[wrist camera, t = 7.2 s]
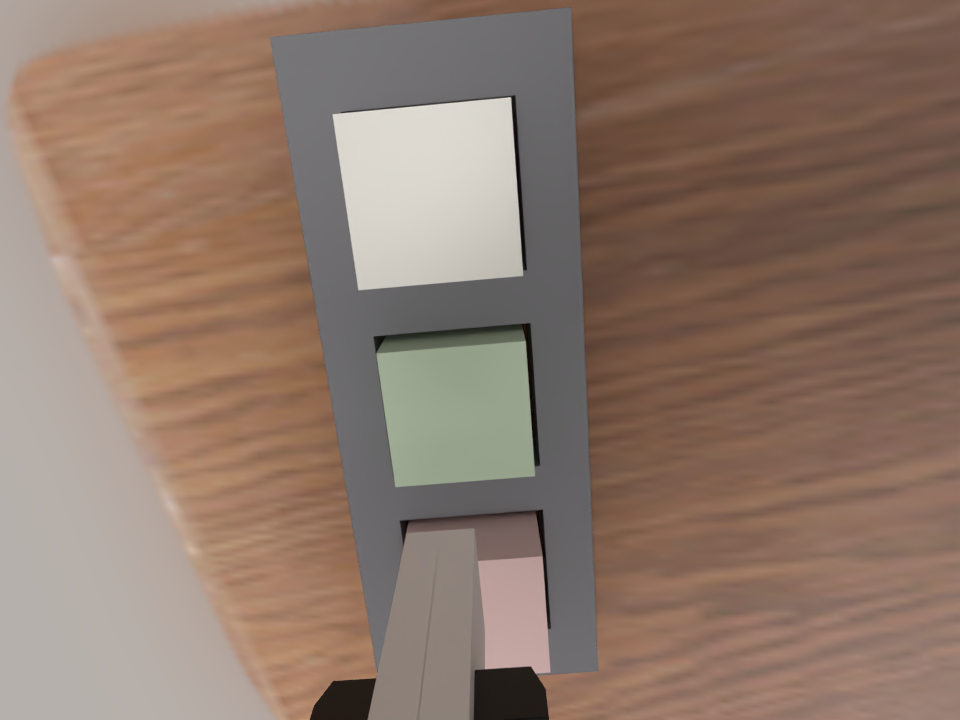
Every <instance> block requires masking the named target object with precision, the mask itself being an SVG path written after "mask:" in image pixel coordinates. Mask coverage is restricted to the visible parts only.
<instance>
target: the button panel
mask: <svg viewBox="0 0 960 720" xmlns="http://www.w3.org/2000/svg"><path fill="white" fill-rule="evenodd" d="M270 41H271V47H272V53H273V59H274V65H275V71H276V77H277V83H278V89H279V94H280V100H281V106H282V112H283V118H284V124H285V130H286V136H287V142H288V148H289V154H290V159H291V165H292V171H293V177H294V183H295V189H296V195H297V201H298V207H299V213H300V219H301V225H302V230H303V236H304V242H305V248H306V254H307V260H308V266H309V272H310V278H311V284H312V290H313V295H314V301H315V307H316V313H317V319H318V325H319V331H320V337H321V343H322V349H323V355H324V360H325V366H326V372H327V378H328V384H329V390H330V396H331V402H332V408H333V414H334V420H335V426H336V431H337V437H338V443H339V449H340V455H341V461H342V467H343V473H344V479H345V485H346V491H347V496H348V502H349V508H350V514H351V520H352V526H353V532H354V538H355V544H356V550H357V556H358V561H359V567H360V573H361V579H362V585H363V591H364V597H365V603H366V609H367V615H368V621H369V627H370V632H371V638H372V644H373V650H374V656H375V662H376V668H377V673H378V668H379V663H380V659H381V654H382V649H383V645H384V640H385V635H386V630H387V626H388V621H389V616H390V611H391V607H392V602H393V597H394V592H395V588H396V583H397V578H398V573H399V569H400V568H399V566H400V562H401V557H402V552H403V547H404V542H405V537H406V532H407V527H408V522H409V520H414V519H427V518H440V517H453V516H466V515H479V514H492V513H505V512H518V511H531V510H539V512H540V526H541V541H542V555H543V570H544V584H545V599H546V613H547V628H548V643H549V657H550V672H551V673H536V675H551V674H566V673H580V672H594V671H598V657H597V632H596V608H595V583H594V559H593V534H592V510H591V485H590V461H589V436H588V412H587V387H586V363H585V339H584V314H583V290H582V265H581V241H580V216H579V192H578V167H577V143H576V118H575V94H574V69H573V45H572V20H571V7H569V8H558V9H548V10H538V11H528V12H518V13H508V14H498V15H488V16H478V17H468V18H458V19H448V20H438V21H428V22H418V23H407V24H397V25H387V26H377V27H367V28H357V29H347V30H337V31H327V32H317V33H307V34H297V35H287V36H277V37H270ZM508 97H511V103H512V117H513V132H514V146H515V161H516V176H517V190H518V205H519V219H520V234H521V249H522V266H523V276H516V277H505V278H493V279H482V280H471V281H459V282H448V283H436V284H425V285H413V286H402V287H391V288H379V289H368V290H358V284H357V277H356V270H355V264H354V257H353V250H352V243H351V236H350V230H349V223H348V216H347V209H346V202H345V196H344V189H343V182H342V175H341V169H340V162H339V155H338V148H337V141H336V135H335V128H334V121H333V114H341V113H351V112H362V111H372V110H383V109H393V108H404V107H414V106H425V105H435V104H446V103H456V102H467V101H477V100H487V99H498V98H508ZM524 323H527V336H528V351H529V366H530V380H531V395H532V409H533V424H534V436H532V439H533V453H534V467H535V476H532V477H519V478H506V479H494V480H481V481H468V482H455V483H443V484H430V485H417V486H404V487H395V481H394V474H393V467H392V460H391V453H390V446H389V439H388V432H387V425H386V418H385V411H384V404H383V397H382V390H381V383H380V376H379V369H378V362H377V355H376V353H377V351H378V350H379V348H380V346H381V344H382V342H383V341H384V339H385V337H386V335H395V334H406V333H418V332H430V331H442V330H453V329H465V328H477V327H488V326H500V325H512V324H524Z"/></svg>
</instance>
